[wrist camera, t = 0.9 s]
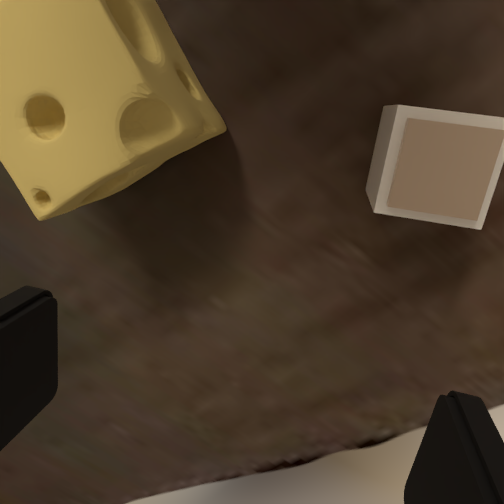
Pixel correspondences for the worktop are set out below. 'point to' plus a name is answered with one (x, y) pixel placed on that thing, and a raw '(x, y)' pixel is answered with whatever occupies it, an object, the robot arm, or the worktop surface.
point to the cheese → (93, 99)
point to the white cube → (435, 165)
